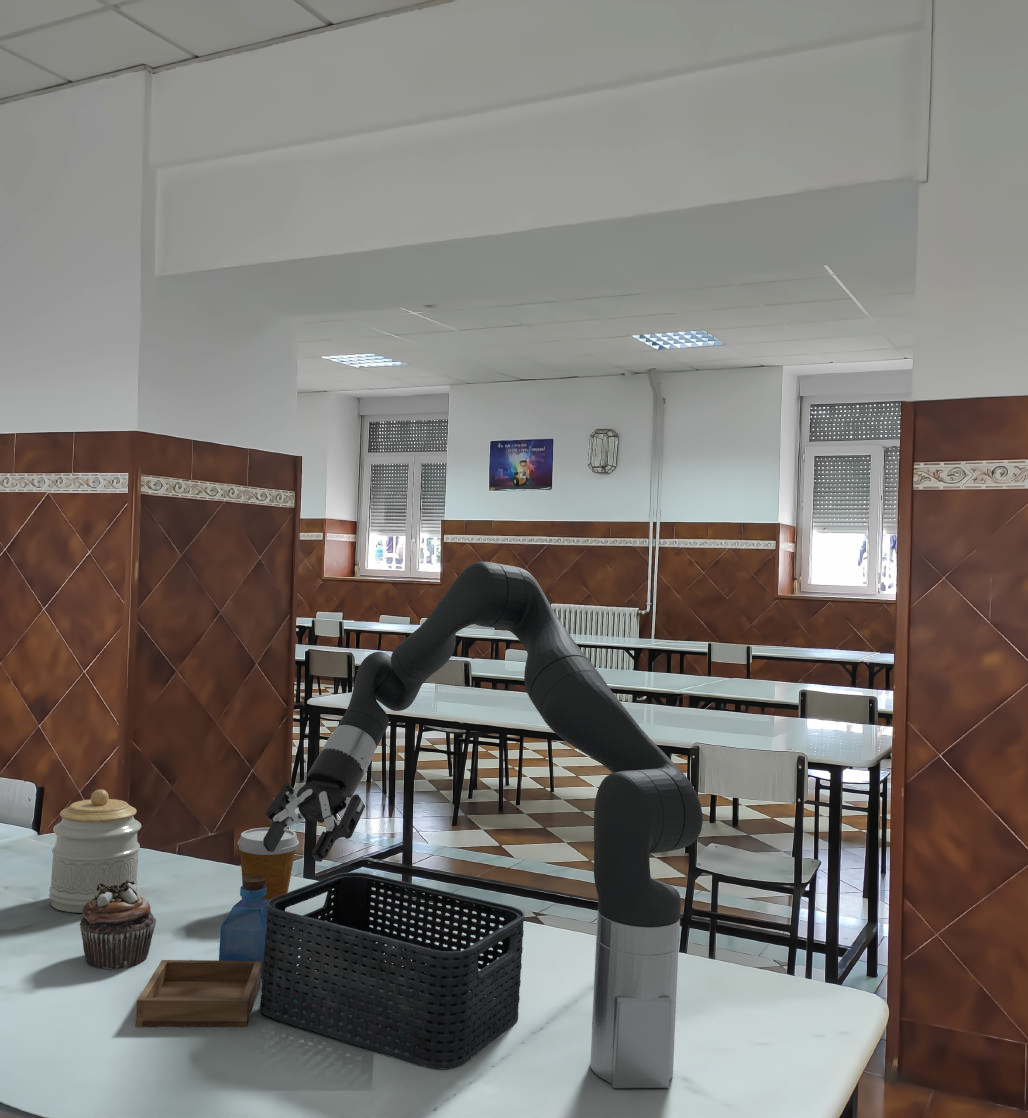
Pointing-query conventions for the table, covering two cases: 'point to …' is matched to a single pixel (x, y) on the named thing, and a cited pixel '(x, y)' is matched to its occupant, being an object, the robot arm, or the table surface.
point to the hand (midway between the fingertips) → (291, 853)
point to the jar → (93, 850)
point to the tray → (200, 994)
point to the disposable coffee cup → (268, 859)
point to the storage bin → (394, 968)
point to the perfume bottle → (246, 924)
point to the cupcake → (116, 927)
